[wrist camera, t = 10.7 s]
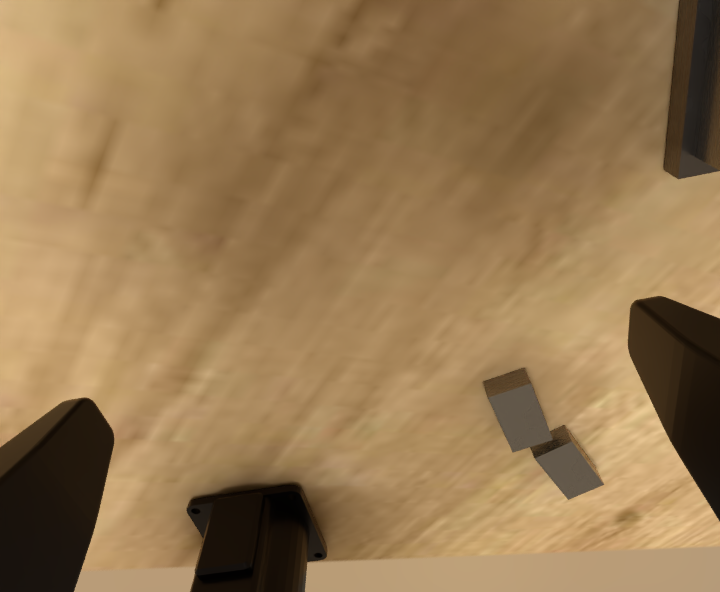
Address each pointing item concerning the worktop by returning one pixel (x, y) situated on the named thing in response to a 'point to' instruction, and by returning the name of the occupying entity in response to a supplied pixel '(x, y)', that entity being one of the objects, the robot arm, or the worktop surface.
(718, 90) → the hollow square frame
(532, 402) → the grey topped wooden tile
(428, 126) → the worktop surface
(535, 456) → the wood sided gray block
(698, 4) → the keeper
